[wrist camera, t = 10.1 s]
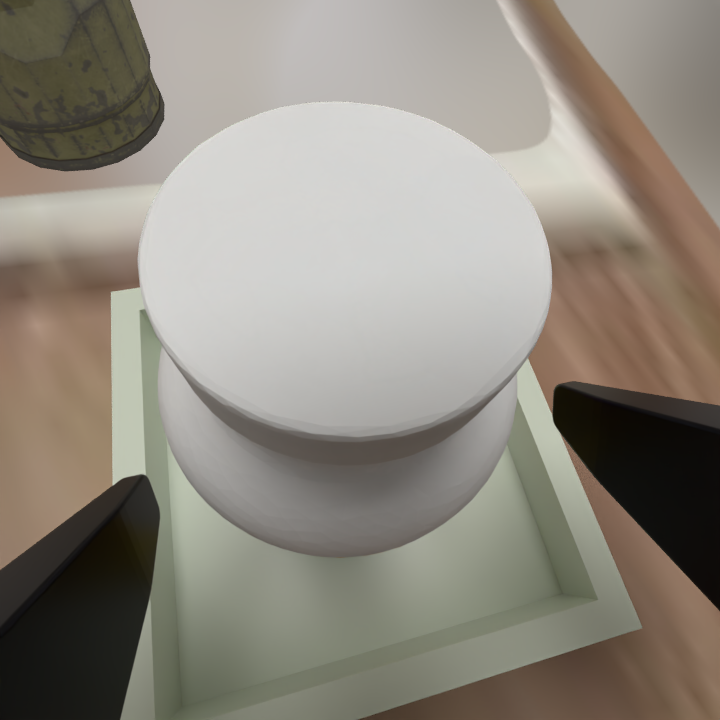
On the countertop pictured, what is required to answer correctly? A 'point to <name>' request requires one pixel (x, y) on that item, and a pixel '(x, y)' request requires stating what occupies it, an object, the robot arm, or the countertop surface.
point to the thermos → (75, 83)
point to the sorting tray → (355, 580)
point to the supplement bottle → (341, 322)
